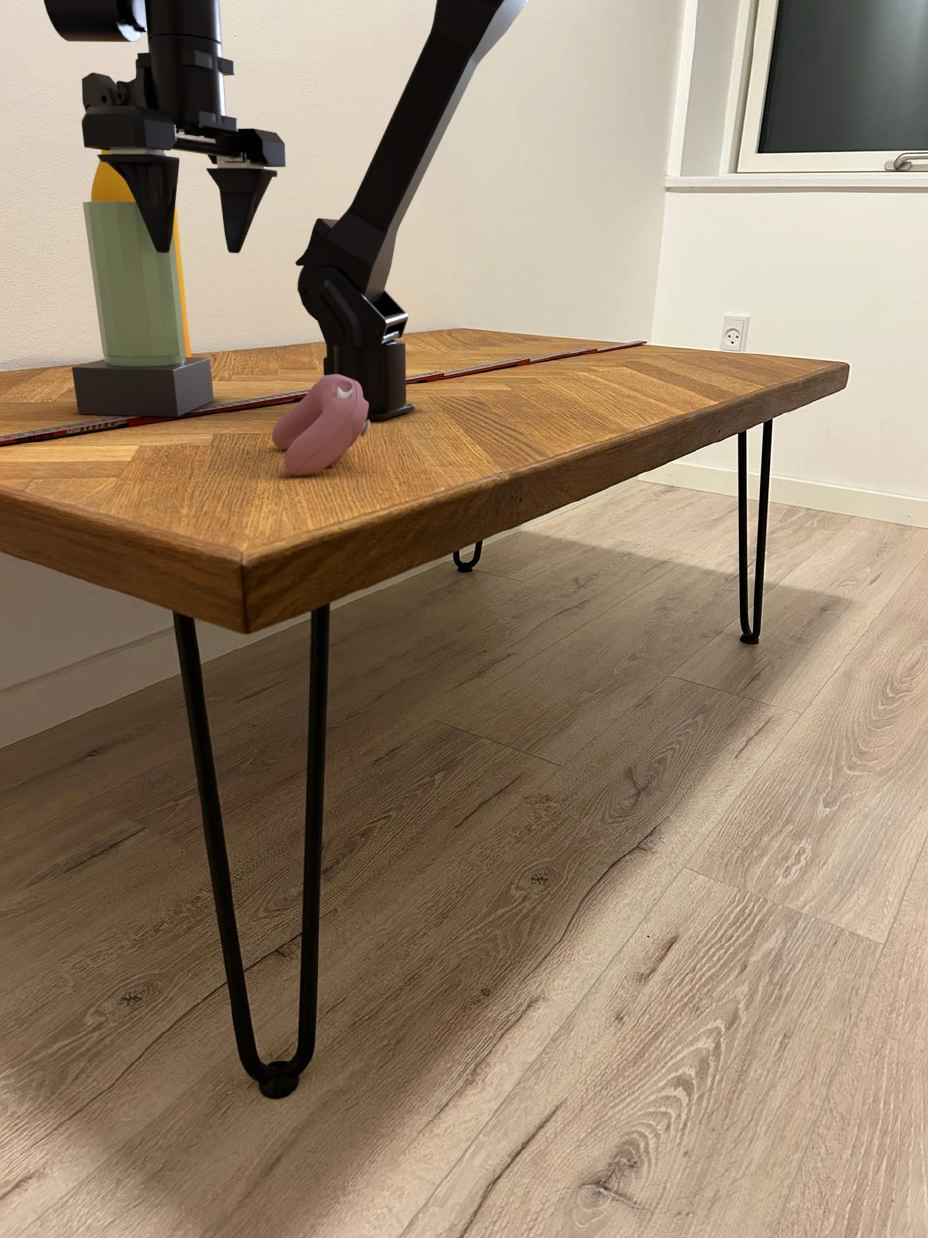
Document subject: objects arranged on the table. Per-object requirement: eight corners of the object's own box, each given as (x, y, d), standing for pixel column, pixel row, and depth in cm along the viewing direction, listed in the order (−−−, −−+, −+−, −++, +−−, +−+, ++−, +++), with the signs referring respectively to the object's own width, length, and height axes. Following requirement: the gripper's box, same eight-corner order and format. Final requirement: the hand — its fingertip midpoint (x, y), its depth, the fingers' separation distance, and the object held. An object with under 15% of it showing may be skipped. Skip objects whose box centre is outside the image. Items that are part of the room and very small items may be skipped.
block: (214, 400, 87) (210, 357, 86) (178, 417, 79) (173, 369, 77) (123, 398, 88) (117, 355, 86) (78, 414, 80) (71, 367, 78)
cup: (198, 358, 85) (183, 205, 80) (167, 367, 78) (149, 201, 73) (126, 356, 85) (107, 204, 81) (90, 365, 79) (67, 200, 74)
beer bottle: (95, 367, 108) (56, 87, 97) (157, 360, 115) (127, 98, 104) (147, 374, 104) (113, 81, 93) (208, 365, 111) (183, 93, 100)
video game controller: (344, 498, 60) (389, 400, 59) (280, 471, 58) (325, 369, 57) (322, 465, 69) (361, 380, 68) (266, 441, 67) (304, 352, 66)
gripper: (185, 66, 84) (198, 249, 90) (14, 22, 68) (44, 248, 74) (285, 61, 79) (292, 254, 85) (129, 13, 64) (150, 254, 70)
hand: (200, 252), depth 79 cm, fingers open, 9 cm apart
